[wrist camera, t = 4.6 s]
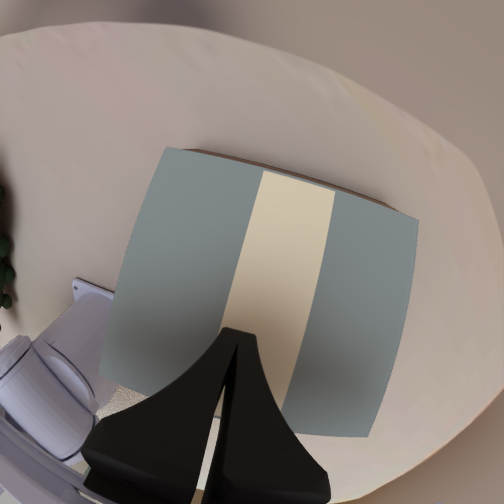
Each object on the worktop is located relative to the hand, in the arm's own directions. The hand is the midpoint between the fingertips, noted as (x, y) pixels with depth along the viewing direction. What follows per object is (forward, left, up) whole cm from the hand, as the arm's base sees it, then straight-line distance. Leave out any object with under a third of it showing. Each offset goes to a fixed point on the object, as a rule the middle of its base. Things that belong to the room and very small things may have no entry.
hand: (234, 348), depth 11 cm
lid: (+1, -1, -2) cm, 3 cm away
